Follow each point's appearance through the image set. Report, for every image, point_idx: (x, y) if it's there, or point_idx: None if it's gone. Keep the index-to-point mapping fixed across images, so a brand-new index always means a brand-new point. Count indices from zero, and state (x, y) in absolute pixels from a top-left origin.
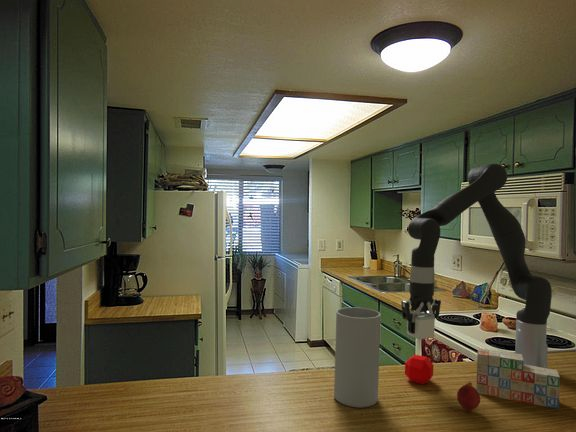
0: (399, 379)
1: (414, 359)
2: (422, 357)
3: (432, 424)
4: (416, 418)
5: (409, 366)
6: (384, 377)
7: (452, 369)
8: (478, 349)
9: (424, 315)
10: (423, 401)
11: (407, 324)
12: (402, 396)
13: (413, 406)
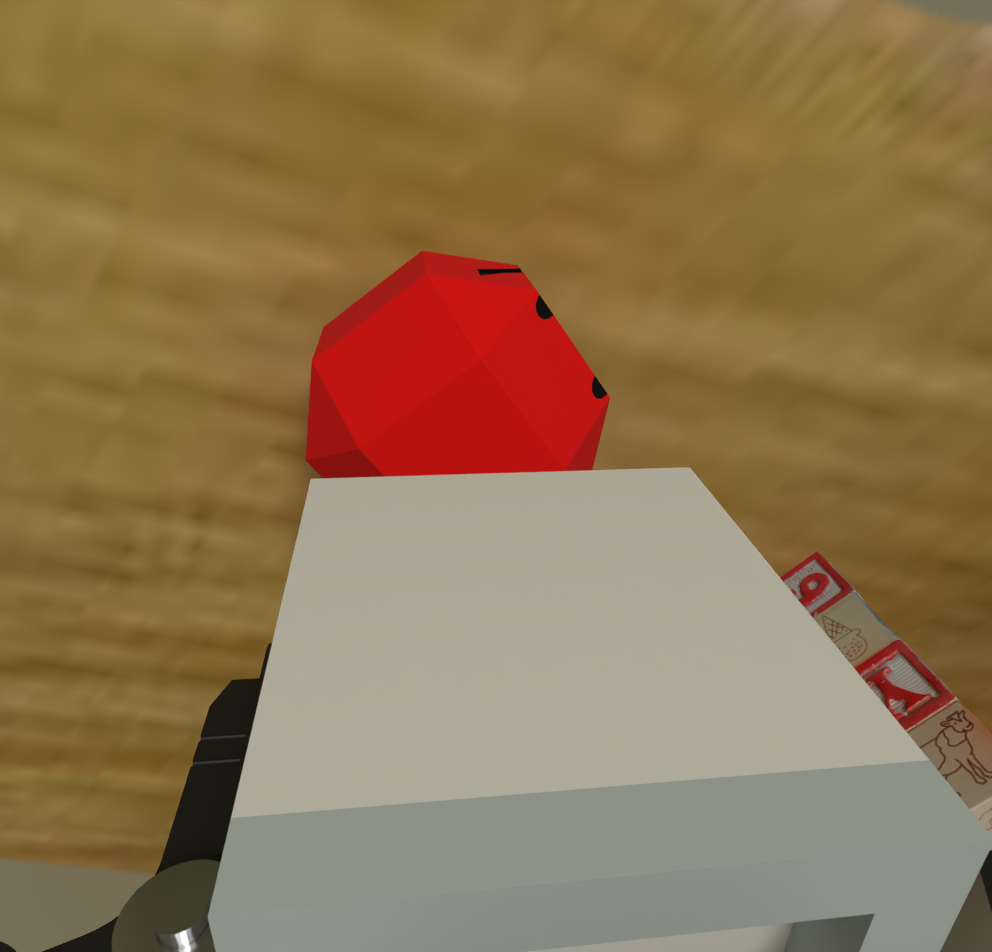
0: (283, 287)
1: (376, 475)
2: (499, 470)
3: (146, 853)
4: (84, 800)
5: (306, 455)
6: (145, 193)
7: (950, 237)
8: (978, 809)
9: (805, 932)
10: (254, 657)
11: (285, 619)
12: (134, 570)
13: (142, 695)
